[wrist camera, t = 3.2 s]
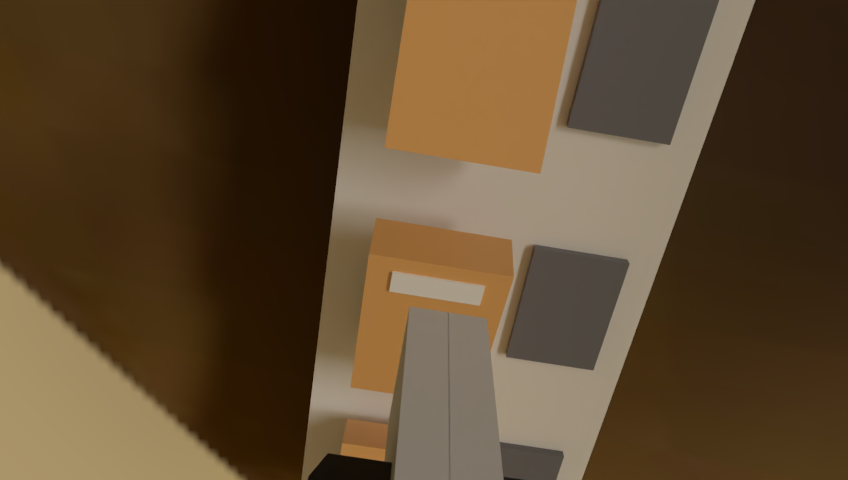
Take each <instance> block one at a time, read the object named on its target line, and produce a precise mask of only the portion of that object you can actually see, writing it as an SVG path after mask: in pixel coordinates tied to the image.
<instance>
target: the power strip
mask: <svg viewBox="0 0 848 480" xmlns="http://www.w3.org/2000/svg"><path fill="white" fill-rule="evenodd" d="M754 3H755V0H577V3H576V8H575V13H574V18H573V22H572V27H571V32H570V36H569V41H568V46H567V51H566V55H565V60H564V65H563V69H562V74H561V79H560V84H559V88H558V93H557V98H556V102H555V107H554V112H553V117H552V121H551V126H550V131H549V136H548V140H547V145H546V150H545V154H544V159H543V164H542V169H541V173H540V174H538V173H532V172H526V171H520V170H514V169H508V168H502V167H496V166H490V165H485V164H479V163H473V162H467V161H461V160H455V159H449V158H443V157H437V156H431V155H425V154H419V153H413V152H407V151H401V150H395V149H389V148H384V147H385V140H386V134H387V127H388V121H389V114H390V108H391V101H392V95H393V88H394V82H395V75H396V69H397V62H398V56H399V49H400V43H401V36H402V30H403V23H404V17H405V10H406V4H407V0H358V2H357V10H356V19H355V27H354V36H353V44H352V53H351V61H350V70H349V78H348V87H347V95H346V104H345V112H344V121H343V129H342V138H341V147H340V155H339V164H338V172H337V181H336V189H335V198H334V206H333V215H332V223H331V232H330V240H329V249H328V257H327V266H326V274H325V283H324V291H323V300H322V309H321V317H320V326H319V334H318V343H317V351H316V360H315V368H314V377H313V385H312V394H311V402H310V411H309V419H308V428H307V436H306V445H305V453H304V462H303V471H302V479H301V480H308V476H309V475H310V474H311V473H312V471H313V470H314V469H315V468H316V467H317V465H318V464H319V463H320V462H321V461H322V460H323V458H324V457H325V456H326V455H327V454H328V453H330V454H337V455H340V453H341V447H342V441H343V436H344V431H345V426H346V421H347V419H354V420H361V421H367V422H374V423H381V424H388V423H389V416H390V410H391V405H392V399H393V394H391V393H384V392H378V391H371V390H365V389H358V388H351V380H352V373H353V365H354V358H355V351H356V344H357V336H358V329H359V322H360V315H361V307H362V300H363V293H364V286H365V279H366V271H367V264H368V257H369V251H370V246H371V241H372V236H373V231H374V226H375V220H376V218H380V219H387V220H393V221H399V222H405V223H411V224H417V225H423V226H430V227H436V228H442V229H448V230H454V231H460V232H466V233H473V234H479V235H485V236H491V237H497V238H503V239H510V240H512V252H513V269H514V279H513V282H512V285H511V288H510V291H509V294H508V298H507V301H506V304H505V307H504V310H503V313H502V316H501V320H500V323H499V326H498V329H497V332H496V335H495V338H494V342H493V345H492V348H491V351H490V352H491V362H492V371H493V381H494V391H495V401H496V410H497V420H498V430H499V440H500V449H501V459H502V469H503V477H509V478H516V479H522V480H582V477H583V475H584V472H585V469H586V466H587V463H588V461H589V458H590V455H591V452H592V450H593V447H594V444H595V441H596V439H597V436H598V433H599V430H600V428H601V425H602V422H603V419H604V417H605V414H606V411H607V408H608V406H609V403H610V400H611V397H612V394H613V392H614V389H615V386H616V383H617V381H618V378H619V375H620V372H621V370H622V367H623V364H624V361H625V359H626V356H627V353H628V350H629V348H630V345H631V342H632V339H633V337H634V334H635V331H636V328H637V325H638V323H639V320H640V317H641V314H642V312H643V309H644V306H645V303H646V301H647V298H648V295H649V292H650V290H651V287H652V284H653V281H654V279H655V276H656V273H657V270H658V268H659V265H660V262H661V259H662V256H663V254H664V251H665V248H666V245H667V243H668V240H669V237H670V234H671V232H672V229H673V226H674V223H675V221H676V218H677V215H678V212H679V210H680V207H681V204H682V201H683V199H684V196H685V193H686V190H687V187H688V185H689V182H690V179H691V176H692V174H693V171H694V168H695V165H696V163H697V160H698V157H699V154H700V152H701V149H702V146H703V143H704V141H705V138H706V135H707V132H708V130H709V127H710V124H711V121H712V118H713V116H714V113H715V110H716V107H717V105H718V102H719V99H720V96H721V94H722V91H723V88H724V85H725V83H726V80H727V77H728V74H729V72H730V69H731V66H732V63H733V61H734V58H735V55H736V52H737V49H738V47H739V44H740V41H741V38H742V36H743V33H744V30H745V27H746V25H747V22H748V19H749V16H750V14H751V11H752V8H753V5H754Z"/></svg>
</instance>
